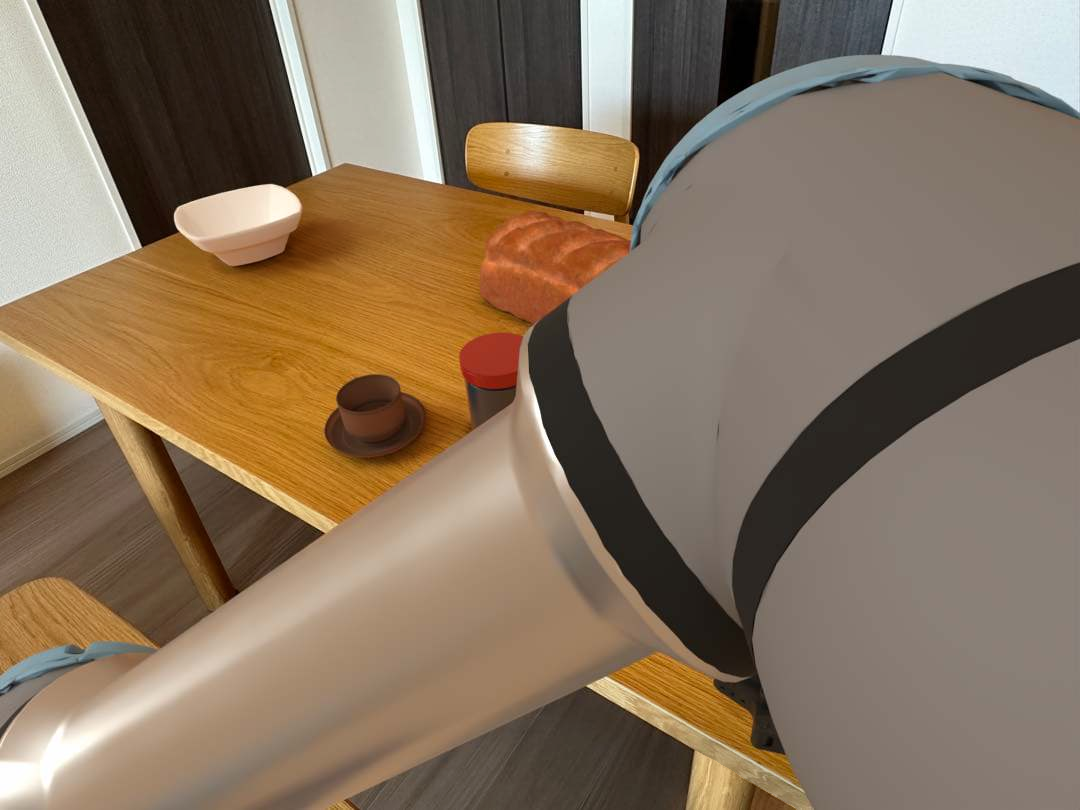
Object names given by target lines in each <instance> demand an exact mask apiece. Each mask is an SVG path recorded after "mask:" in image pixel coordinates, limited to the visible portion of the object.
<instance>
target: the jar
mask: <svg viewBox="0 0 1080 810" xmlns="http://www.w3.org/2000/svg"><path fill="white" fill-rule="evenodd" d="M463 379H464V385H465V392H466V398H467V406H468V412H469V419H470V426H471V432H472V431H473V430H474V429H476V428H477V427H479V426H480V425H482V424H483V423H485V422H486V421H487V420H489V419H490V418H492V417H493V416H495V415H496V414H497V413H499V412H500V411H502V410H503V409H505V408H506V407H507V406H509V405H510V404H512V403H513V401H514V399H515V397H516V387H517V385H515V386H512V387H508V388H502V389H488V388H482V387H478V386H475V385H473V384H471V383H469V382H468V381H467V380H466V379H465V378H464V377H463Z"/></svg>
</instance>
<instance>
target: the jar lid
mask: <svg viewBox="0 0 1080 810" xmlns="http://www.w3.org/2000/svg"><path fill="white" fill-rule="evenodd" d="M523 336H524V335H521V334H517V333H513V332H505V331H502V332H491V333H486V334H483V335H479V336H477V337H474V338H473V339H471V340H469V341H468V342H467V343H465V344H464V345H463V346H462V348H461V349H460V352H459V354H458V355H459V356H458V360H459V366H460V373H461V375H462V377H463V379H464V378H465V379H466V380H467V381H468V382H469V383H471V384H473V385H475V386H478V387H482V388H488V389H502V388H508V387H512V386H515V385H517V375H518V364H519V352H520V346H521V343H522V339H523ZM465 379H464V380H465Z"/></svg>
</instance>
